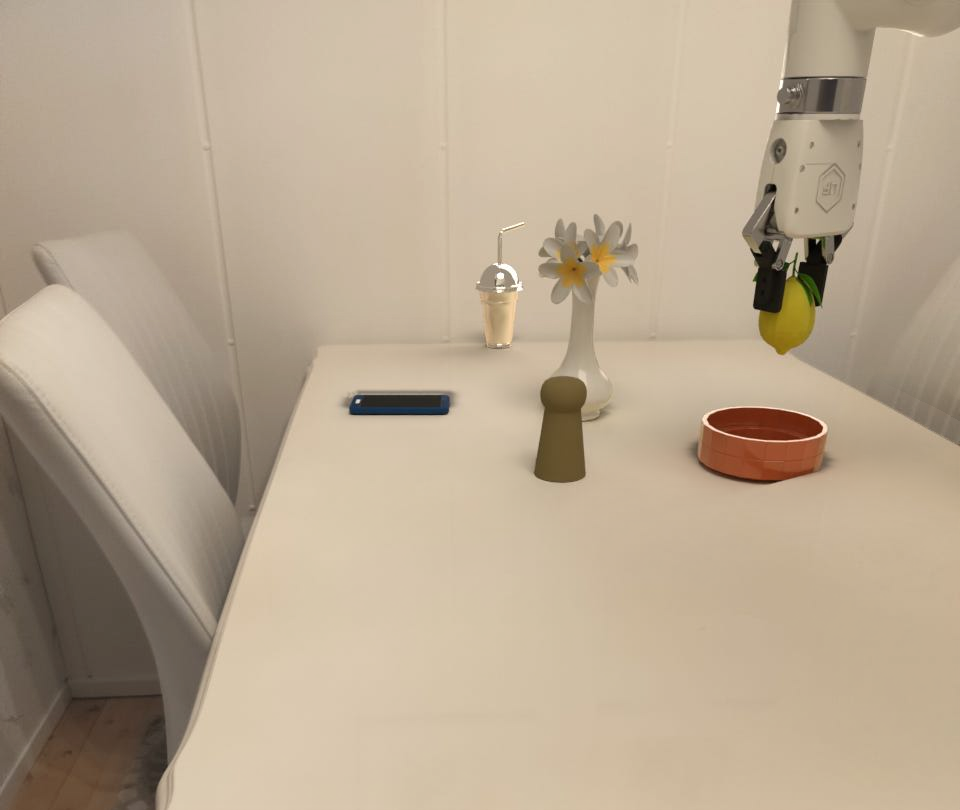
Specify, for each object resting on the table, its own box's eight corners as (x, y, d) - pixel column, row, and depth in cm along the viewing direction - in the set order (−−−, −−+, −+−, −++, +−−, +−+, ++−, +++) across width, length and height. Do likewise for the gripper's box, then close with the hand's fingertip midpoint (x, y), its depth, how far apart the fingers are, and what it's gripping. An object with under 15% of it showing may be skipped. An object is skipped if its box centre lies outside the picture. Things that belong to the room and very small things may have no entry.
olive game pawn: (556, 486, 103) (561, 387, 98) (523, 471, 107) (525, 376, 102) (596, 475, 106) (603, 379, 101) (562, 461, 110) (567, 368, 105)
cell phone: (354, 399, 133) (354, 394, 133) (449, 399, 134) (449, 394, 133) (348, 414, 127) (348, 408, 127) (448, 414, 127) (448, 408, 127)
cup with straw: (471, 341, 168) (470, 222, 158) (519, 339, 169) (522, 221, 159) (479, 351, 161) (479, 227, 151) (530, 349, 162) (533, 226, 152)
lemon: (743, 347, 99) (756, 247, 94) (798, 347, 99) (814, 247, 94) (758, 362, 93) (773, 257, 88) (816, 362, 93) (835, 256, 88)
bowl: (755, 439, 118) (761, 400, 116) (845, 470, 108) (854, 428, 105) (672, 458, 112) (677, 417, 109) (760, 493, 101) (767, 449, 99)
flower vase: (526, 434, 120) (531, 225, 107) (539, 396, 135) (545, 210, 123) (626, 439, 118) (644, 227, 105) (628, 400, 134) (643, 212, 121)
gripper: (789, 101, 78) (757, 323, 87) (912, 102, 86) (871, 304, 95) (723, 102, 83) (700, 310, 92) (845, 103, 91) (812, 294, 101)
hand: (787, 305), depth 94 cm, fingers closed on lemon, 5 cm apart
